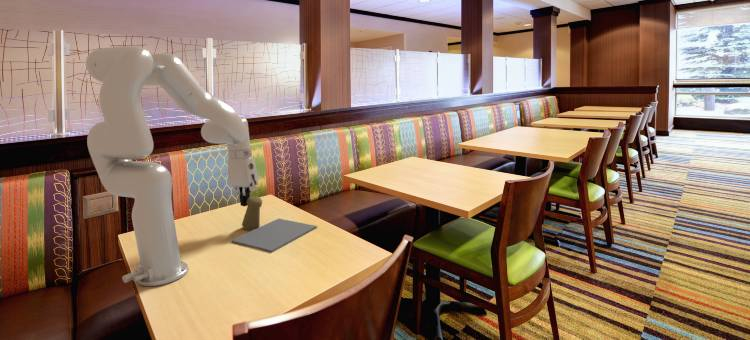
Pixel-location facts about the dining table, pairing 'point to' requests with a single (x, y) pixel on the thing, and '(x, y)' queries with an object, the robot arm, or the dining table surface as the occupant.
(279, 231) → the mat
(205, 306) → the dining table surface
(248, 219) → the cork
